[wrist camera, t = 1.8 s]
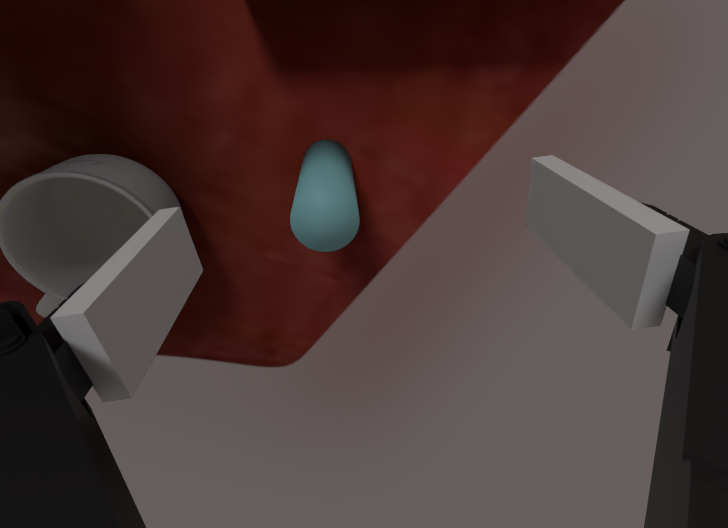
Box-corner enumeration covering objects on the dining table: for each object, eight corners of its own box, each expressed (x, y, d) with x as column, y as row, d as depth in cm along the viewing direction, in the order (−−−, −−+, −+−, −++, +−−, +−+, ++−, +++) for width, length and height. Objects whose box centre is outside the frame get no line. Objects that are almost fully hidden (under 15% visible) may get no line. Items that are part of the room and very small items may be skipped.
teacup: (118, 113, 31) (57, 136, 24) (225, 215, 36) (200, 259, 29) (14, 220, 35) (-66, 267, 28) (124, 300, 39) (79, 358, 32)
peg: (305, 187, 35) (294, 253, 24) (300, 140, 33) (286, 189, 22) (351, 185, 35) (360, 249, 25) (350, 138, 33) (358, 186, 23)
